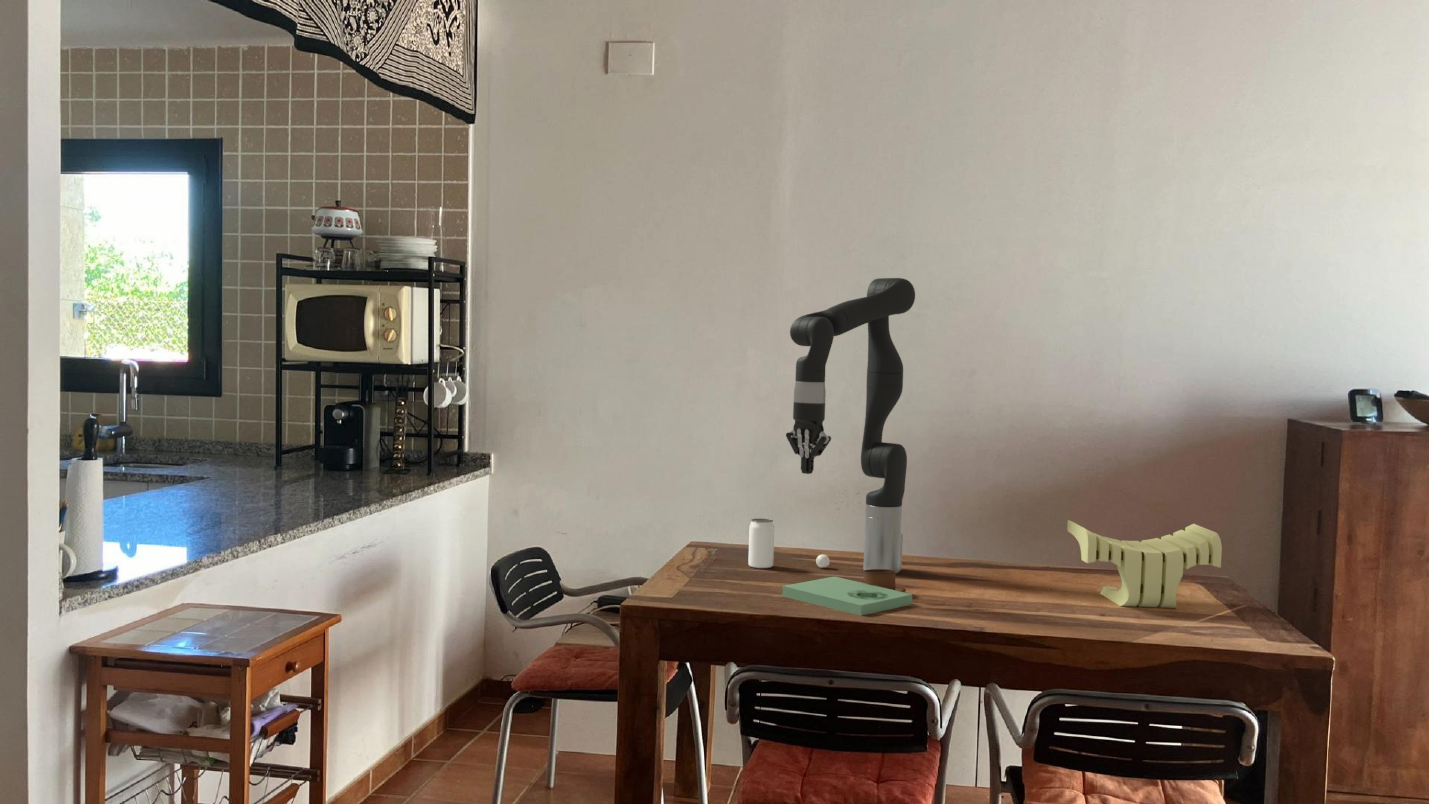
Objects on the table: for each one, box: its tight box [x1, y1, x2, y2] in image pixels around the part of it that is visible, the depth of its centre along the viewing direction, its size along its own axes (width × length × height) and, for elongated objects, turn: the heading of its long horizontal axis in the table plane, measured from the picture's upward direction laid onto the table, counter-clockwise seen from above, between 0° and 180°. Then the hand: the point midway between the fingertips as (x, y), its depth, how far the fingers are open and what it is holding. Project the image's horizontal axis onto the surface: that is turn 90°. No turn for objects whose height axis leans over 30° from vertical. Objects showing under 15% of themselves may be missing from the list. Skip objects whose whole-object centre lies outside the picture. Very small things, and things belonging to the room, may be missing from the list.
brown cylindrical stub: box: [863, 569, 906, 593], centre depth 261 cm, size 12×12×6 cm
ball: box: [815, 553, 830, 569], centre depth 290 cm, size 4×4×4 cm
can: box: [747, 518, 775, 569], centre depth 289 cm, size 6×6×12 cm
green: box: [781, 576, 914, 617], centre depth 252 cm, size 23×18×2 cm
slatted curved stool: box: [1066, 519, 1223, 609], centre depth 260 cm, size 30×16×18 cm, turn 89°
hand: (806, 473), depth 266 cm, fingers closed
